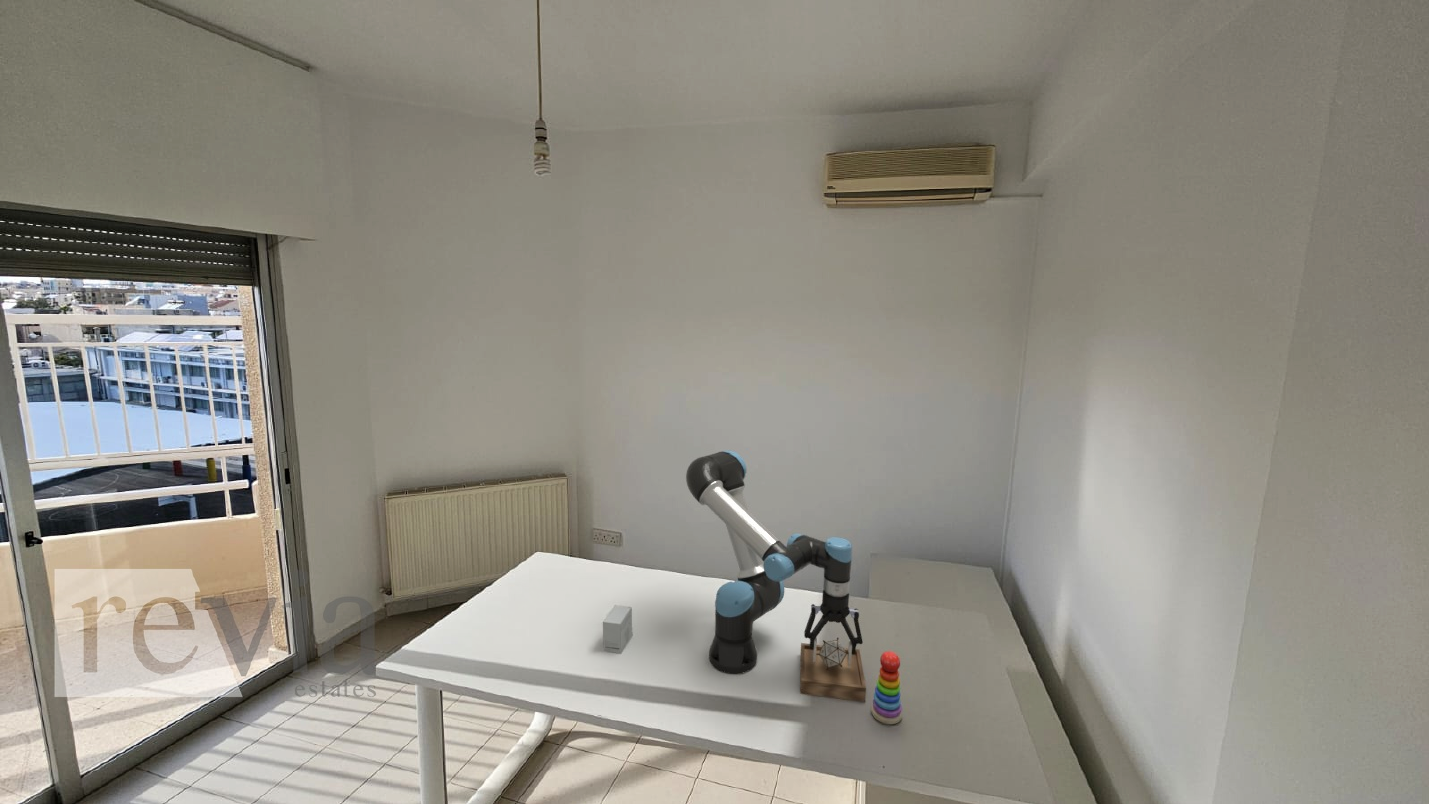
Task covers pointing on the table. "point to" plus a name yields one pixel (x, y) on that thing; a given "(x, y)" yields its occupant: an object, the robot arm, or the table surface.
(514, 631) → the table surface
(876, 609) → the table surface
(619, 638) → the skincare box
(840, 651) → the game die
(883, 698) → the stacking toy
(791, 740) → the table surface
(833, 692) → the square tray
